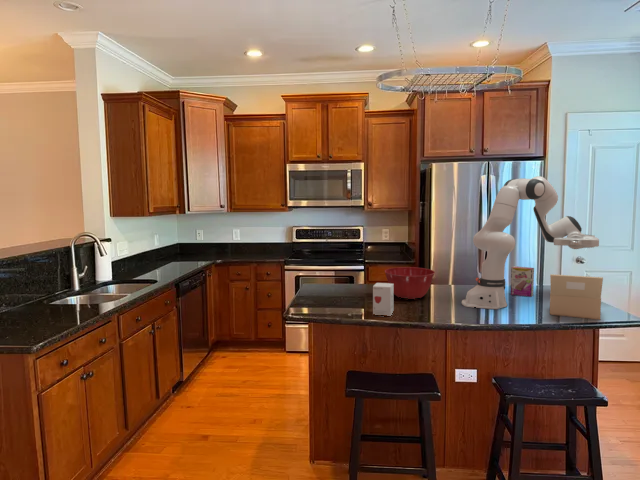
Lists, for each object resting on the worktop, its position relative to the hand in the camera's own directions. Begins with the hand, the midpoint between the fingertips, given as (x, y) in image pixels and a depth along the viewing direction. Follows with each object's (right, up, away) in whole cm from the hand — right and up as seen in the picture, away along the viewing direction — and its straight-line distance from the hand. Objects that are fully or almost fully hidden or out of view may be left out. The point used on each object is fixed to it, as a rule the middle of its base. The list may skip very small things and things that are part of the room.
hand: (575, 243), depth 210 cm
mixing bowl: (-79, -32, +29) cm, 90 cm away
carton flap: (-16, -19, -25) cm, 35 cm away
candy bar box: (-15, -30, +26) cm, 43 cm away
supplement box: (-100, -35, -6) cm, 106 cm away
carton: (-9, -33, -13) cm, 37 cm away
